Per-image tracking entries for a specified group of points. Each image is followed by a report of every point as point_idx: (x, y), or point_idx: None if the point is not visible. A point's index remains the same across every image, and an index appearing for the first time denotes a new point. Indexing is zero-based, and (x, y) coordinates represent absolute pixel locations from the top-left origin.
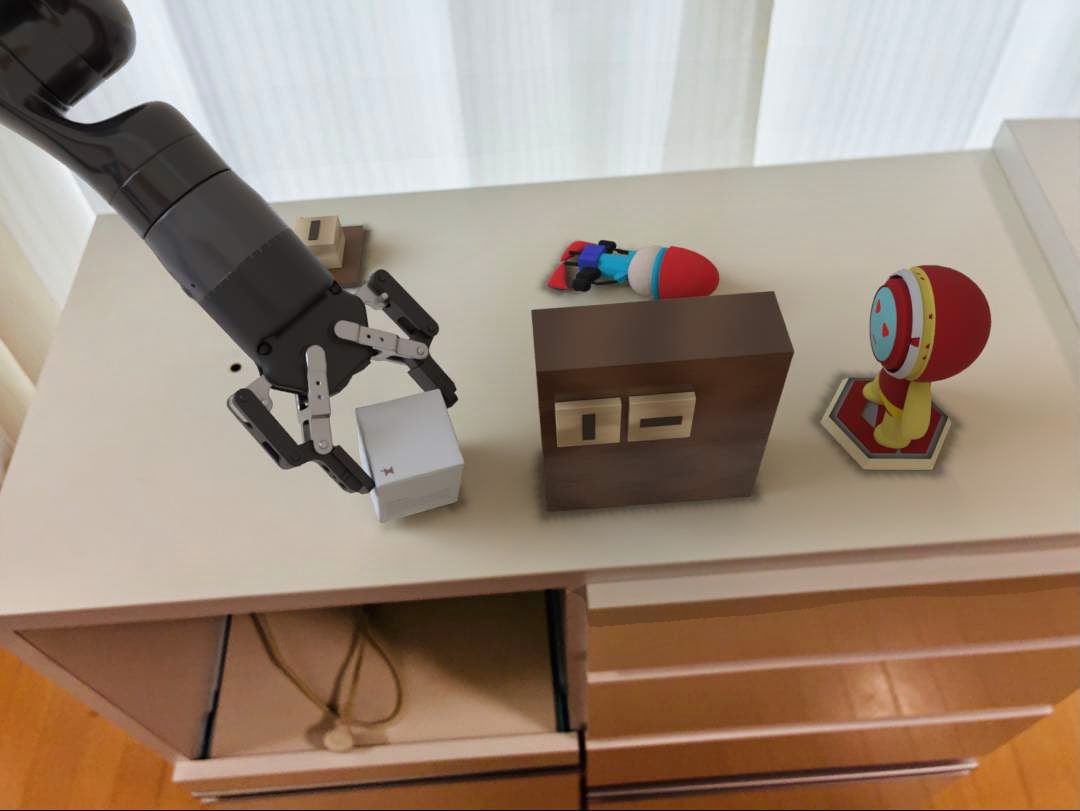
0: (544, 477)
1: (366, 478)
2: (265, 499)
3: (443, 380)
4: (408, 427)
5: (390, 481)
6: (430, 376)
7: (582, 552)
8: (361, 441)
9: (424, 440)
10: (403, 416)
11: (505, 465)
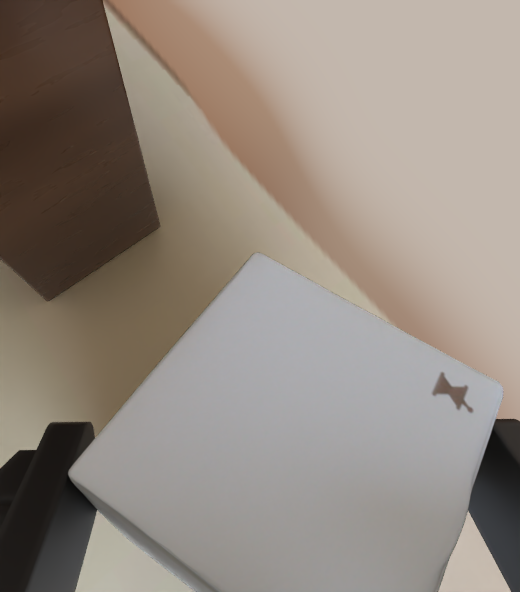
0: (141, 152)
1: (512, 441)
2: None
3: (11, 503)
4: (289, 449)
5: (463, 366)
6: (33, 539)
7: (195, 143)
8: None
9: (287, 372)
10: (268, 498)
11: (108, 353)
